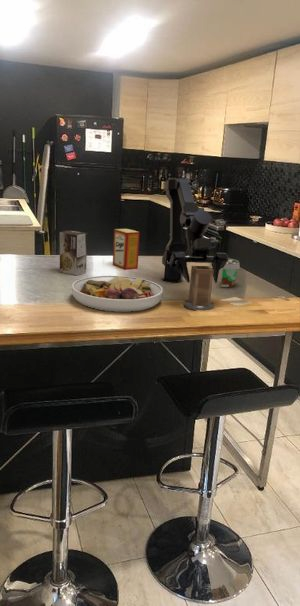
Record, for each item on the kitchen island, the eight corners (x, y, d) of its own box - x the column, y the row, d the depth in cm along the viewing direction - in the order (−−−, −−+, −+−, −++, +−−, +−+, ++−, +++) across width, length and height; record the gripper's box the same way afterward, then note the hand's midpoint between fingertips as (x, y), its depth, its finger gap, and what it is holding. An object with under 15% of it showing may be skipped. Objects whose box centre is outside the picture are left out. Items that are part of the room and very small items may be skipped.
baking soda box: (112, 265, 214) (114, 228, 210) (125, 263, 218) (126, 227, 213) (125, 269, 207) (126, 231, 202) (137, 268, 211) (139, 231, 206)
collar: (188, 300, 165) (191, 265, 161) (204, 300, 166) (207, 266, 162) (193, 306, 159) (196, 269, 156) (209, 305, 161) (213, 270, 157)
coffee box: (86, 273, 197) (88, 232, 193) (76, 275, 192) (77, 234, 187) (69, 269, 202) (70, 229, 197) (58, 271, 197) (59, 231, 192)
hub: (179, 308, 160) (181, 293, 159) (188, 300, 169) (190, 286, 168) (209, 313, 157) (211, 298, 155) (217, 305, 166) (218, 291, 164)
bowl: (61, 291, 172) (62, 269, 169) (141, 287, 184) (142, 266, 181) (86, 318, 146) (86, 293, 143) (177, 311, 157) (179, 288, 155)
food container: (236, 291, 185) (239, 265, 182) (220, 289, 186) (223, 263, 184) (237, 283, 197) (240, 259, 194) (222, 281, 198) (225, 257, 195)
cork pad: (219, 301, 171) (219, 299, 171) (235, 298, 176) (235, 296, 176) (237, 307, 165) (237, 306, 165) (252, 304, 170) (252, 302, 170)
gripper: (174, 226, 157) (180, 268, 150) (229, 228, 161) (238, 269, 154) (166, 246, 167) (172, 286, 160) (219, 247, 171) (226, 287, 164)
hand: (202, 282), depth 159 cm, fingers open, 9 cm apart
